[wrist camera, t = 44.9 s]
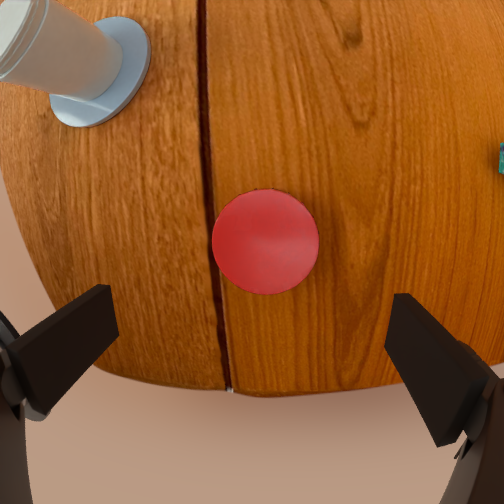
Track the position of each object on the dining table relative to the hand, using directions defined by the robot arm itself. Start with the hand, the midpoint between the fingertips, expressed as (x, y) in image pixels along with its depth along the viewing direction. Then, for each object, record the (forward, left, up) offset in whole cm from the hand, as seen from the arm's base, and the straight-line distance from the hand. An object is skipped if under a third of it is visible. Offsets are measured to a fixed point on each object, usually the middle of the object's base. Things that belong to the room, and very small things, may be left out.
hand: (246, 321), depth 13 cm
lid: (0, +2, -8) cm, 9 cm away
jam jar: (-15, +17, -9) cm, 24 cm away
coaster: (-15, +17, -10) cm, 24 cm away
